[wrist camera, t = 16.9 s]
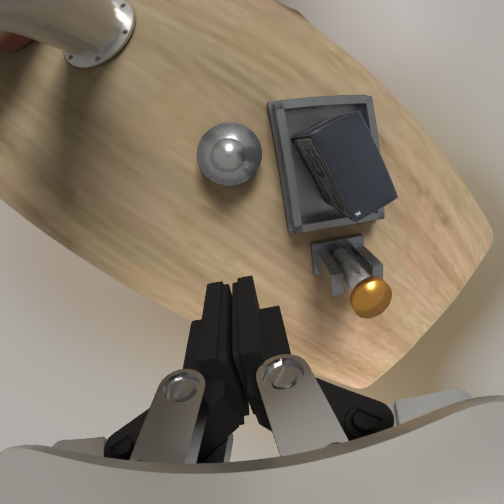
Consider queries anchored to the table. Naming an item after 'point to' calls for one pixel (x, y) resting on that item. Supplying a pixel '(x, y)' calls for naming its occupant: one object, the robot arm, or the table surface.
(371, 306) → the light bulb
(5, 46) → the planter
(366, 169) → the small box
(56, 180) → the table surface
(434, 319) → the table surface
